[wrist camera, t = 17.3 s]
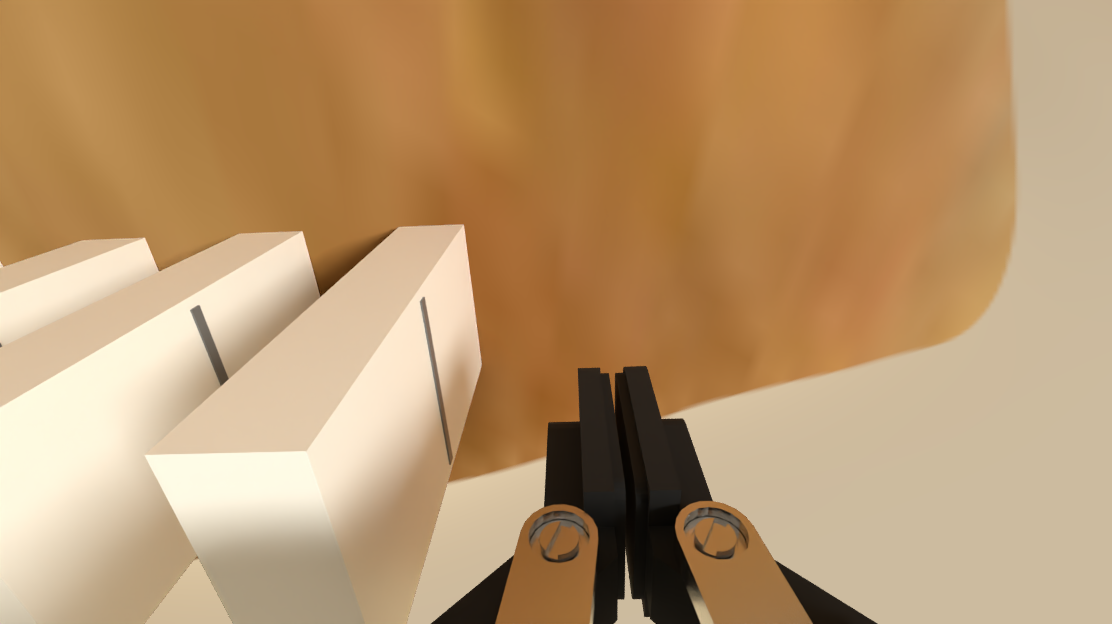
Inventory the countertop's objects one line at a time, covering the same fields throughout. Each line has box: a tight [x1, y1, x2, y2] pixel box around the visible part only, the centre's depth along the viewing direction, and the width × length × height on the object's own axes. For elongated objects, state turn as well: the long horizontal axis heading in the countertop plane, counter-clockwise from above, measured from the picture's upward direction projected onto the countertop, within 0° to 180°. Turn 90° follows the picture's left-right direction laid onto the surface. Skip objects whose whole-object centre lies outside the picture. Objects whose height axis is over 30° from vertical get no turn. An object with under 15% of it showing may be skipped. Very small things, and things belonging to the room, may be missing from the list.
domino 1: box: [145, 224, 482, 624], centre depth 14 cm, size 2×6×12 cm, turn 2°
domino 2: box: [0, 231, 320, 624], centre depth 14 cm, size 2×6×12 cm, turn 2°
